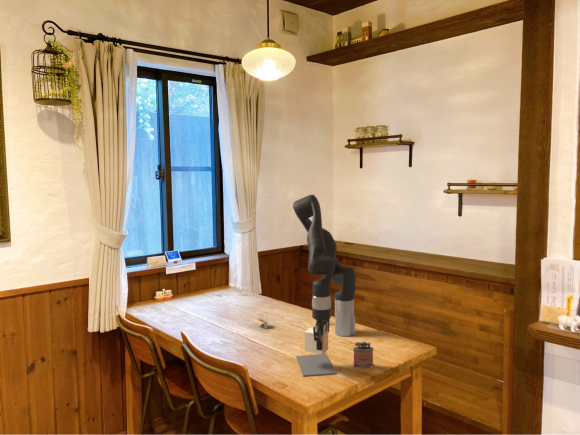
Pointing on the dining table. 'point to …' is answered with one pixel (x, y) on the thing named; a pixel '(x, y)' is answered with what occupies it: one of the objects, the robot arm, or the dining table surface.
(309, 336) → the block
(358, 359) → the lighter
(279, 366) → the dining table surface
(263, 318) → the architectural model
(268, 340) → the dining table surface
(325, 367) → the mat
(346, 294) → the robot arm
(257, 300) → the dining table surface
